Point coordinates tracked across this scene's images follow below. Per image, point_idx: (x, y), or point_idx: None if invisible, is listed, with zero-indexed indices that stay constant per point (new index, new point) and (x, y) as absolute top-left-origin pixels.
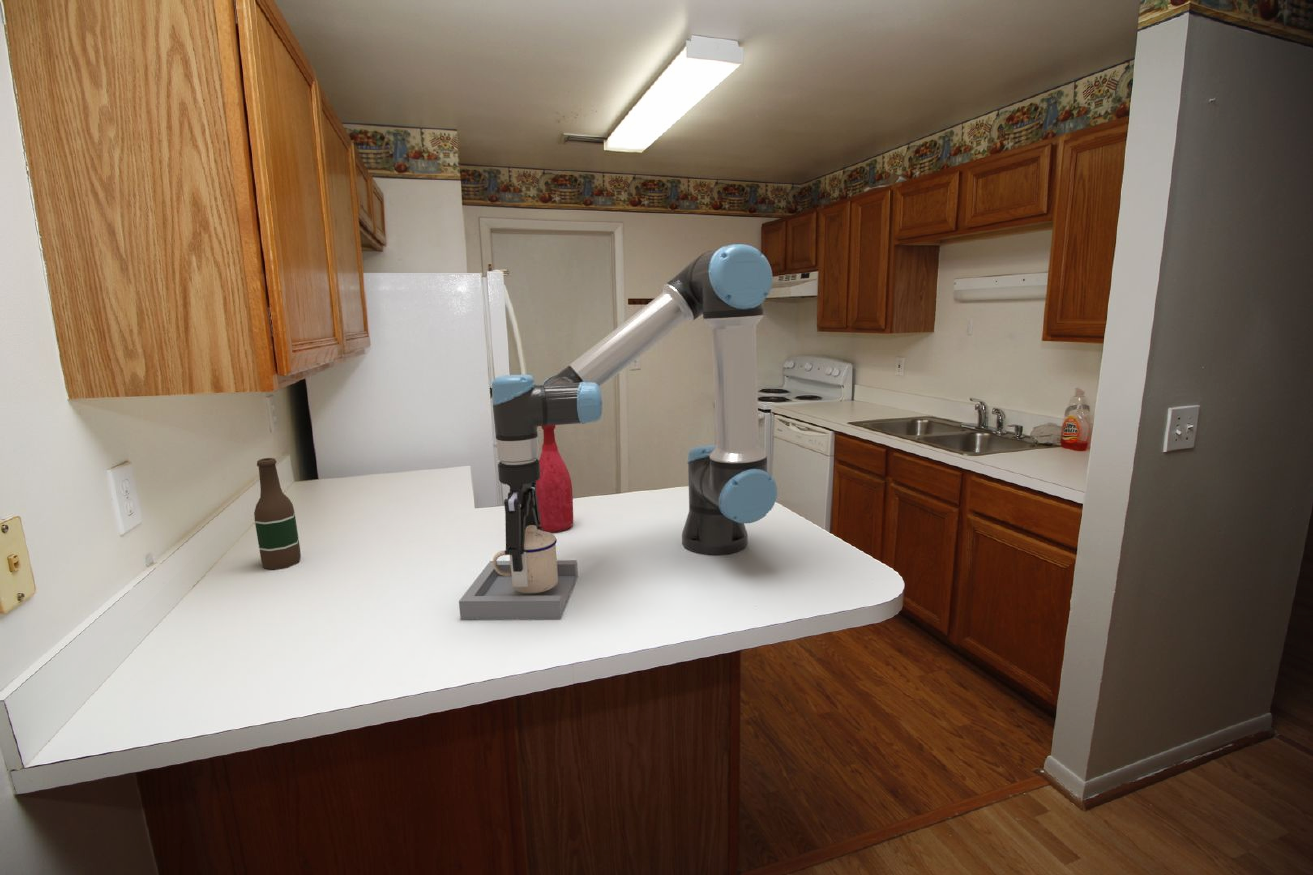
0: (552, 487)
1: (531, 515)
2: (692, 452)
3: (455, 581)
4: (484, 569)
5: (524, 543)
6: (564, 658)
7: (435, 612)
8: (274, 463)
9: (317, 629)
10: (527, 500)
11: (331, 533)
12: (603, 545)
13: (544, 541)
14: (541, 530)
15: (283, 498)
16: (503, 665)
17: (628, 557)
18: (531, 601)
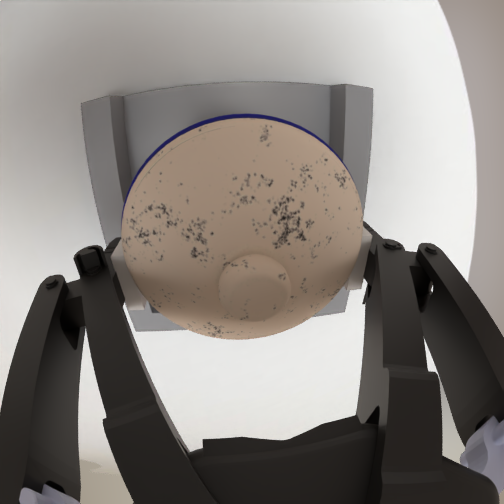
0: None
1: (137, 353)
2: None
3: (177, 351)
4: (183, 328)
5: (339, 264)
6: (458, 85)
7: (299, 332)
8: None
9: (324, 403)
10: (440, 478)
11: (107, 454)
12: None
13: (315, 170)
14: (89, 250)
15: None
16: (462, 173)
17: (9, 37)
18: (368, 160)
